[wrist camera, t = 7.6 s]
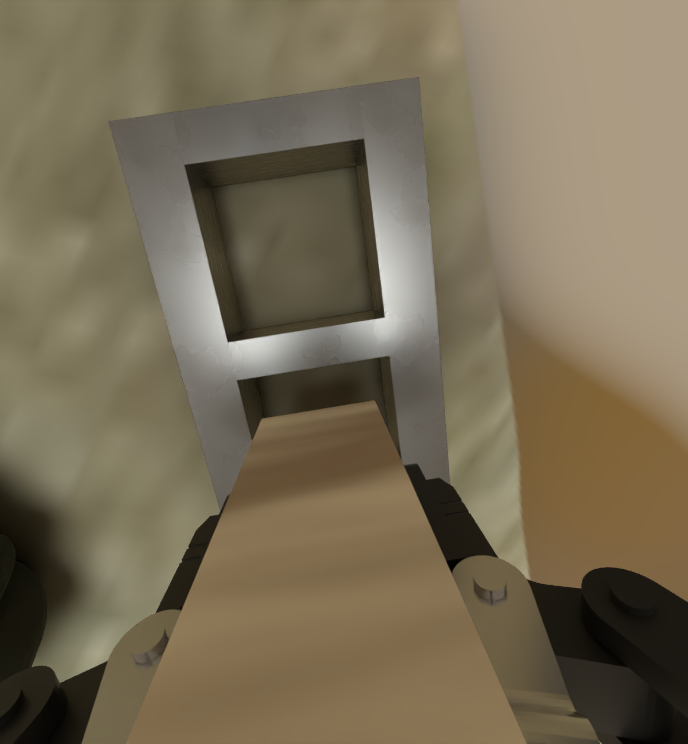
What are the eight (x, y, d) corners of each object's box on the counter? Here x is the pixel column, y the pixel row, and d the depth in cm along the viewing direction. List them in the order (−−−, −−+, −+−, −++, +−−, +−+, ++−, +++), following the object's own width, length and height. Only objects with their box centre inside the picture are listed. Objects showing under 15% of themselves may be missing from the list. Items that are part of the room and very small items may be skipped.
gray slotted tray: (152, 153, 14) (108, 121, 11) (398, 117, 14) (418, 76, 11) (273, 614, 20) (266, 669, 17) (441, 584, 21) (461, 634, 18)
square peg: (261, 418, 12) (36, 957, 3) (374, 400, 12) (573, 850, 3) (284, 515, 13) (185, 1151, 4) (388, 497, 13) (563, 1071, 4)
